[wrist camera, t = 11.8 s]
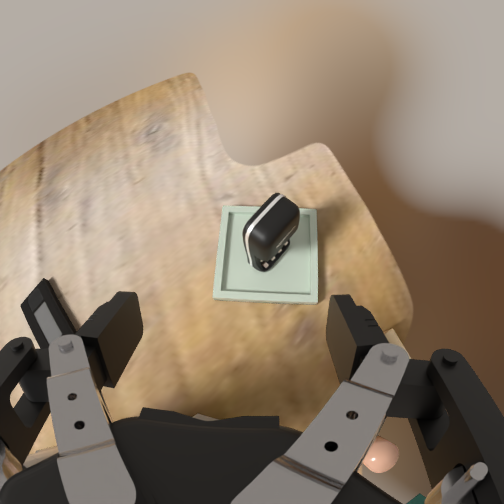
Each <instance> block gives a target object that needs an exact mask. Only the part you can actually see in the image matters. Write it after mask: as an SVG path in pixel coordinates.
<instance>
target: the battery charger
mask: <svg viewBox="0 0 504 504" xmlns="http://www.w3.org/2000/svg"><path fill="white" fill-rule="evenodd" d="M299 220H300V210H299V208H298V206H297V205H296V204H294V203H293V202H292V201H290V200H289V199H287V198H286V196H284V195H283V194H280V193H275V194H273V195H272V196H271V197H270V198H269V199H268V200H267V201H266V202H265V203H264V204H263V205H262V206H261V207H260V208H259V209H258V210H257V211H256V212H255V213H254V215H253V216H252V217H251V218H250V219H249V220H248V221H247V223H246V224H245V226H244V228H243V232H242V236H243V243H244V247H245V251H246V254H247V260H248V263H249V264H250V266H251V267H254V268H255V269H256V270H258V271H260V272H267V271H268V270H269V269H270V268H271V267H272V266H273V265H274V264H275V263H276V261H277V260H278V259H279V258H280V257H281V256H282V254H283V253H284V252H285V251H286V250H287V248H288V247H289V245H290V238H291V236H292V235H293V234H294V233H295V232H296V230H297V229H298V225H299Z"/></svg>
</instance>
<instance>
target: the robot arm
mask: <svg viewBox="0 0 504 504" xmlns="http://www.w3.org/2000/svg"><path fill="white" fill-rule="evenodd" d="M142 335H143V322H142V317H141V312H140V307H139V301H138V296H137V294H136V293H135V292H122V291H119V292H117V293H116V294H115V296H114V297H113V298H112V299H111V300H110V301H109V302H106V303H105V304H103V305H101V306H100V307H98V308H97V309H96V311H95V312H94V313H93V315H91V316H90V317H89V319H88V320H87V321H86V322H85V323H84V324H83V325H82V327H81V328H80V329H79V330H78V331H77V332H76V334H75V335H64V336H61V337H58V338H56V339H55V340H54V341H52V343H51V344H50V345H49V348H45V349H35V347H34V345H33V342H32V340H31V339H30V338H27V337H19V338H15V339H13V340H11V341H10V342H8V343H7V344H6V345H5V346H4V347H3V348H2V350H1V351H0V504H402V503H401V502H399V501H398V500H396V499H394V498H393V497H391V496H390V495H388V494H387V493H386V492H384V491H383V490H381V489H380V488H378V487H377V486H376V485H374V484H373V483H371V482H370V481H368V480H367V479H366V478H364V477H363V476H362V475H360V474H359V473H357V471H358V470H359V468H360V466H361V465H362V463H363V461H364V459H365V457H366V456H367V454H368V452H369V450H370V448H371V447H372V445H373V443H374V441H375V439H376V437H377V435H378V433H379V431H380V430H381V428H382V426H383V424H384V421H385V419H386V417H387V416H388V417H399V418H408V420H409V423H410V425H411V428H412V431H413V433H414V436H415V439H416V442H417V445H418V447H419V450H420V453H421V456H422V459H423V462H424V465H425V468H426V471H427V475H428V478H429V481H430V484H431V487H432V491H431V492H430V493H429V494H428V495H427V497H426V499H425V503H424V504H504V417H503V415H502V413H501V412H500V410H499V409H498V407H497V405H496V404H495V402H494V401H493V399H492V397H491V396H490V394H489V393H488V391H487V390H486V388H485V387H484V386H483V384H482V382H481V381H480V379H479V378H478V376H477V375H476V373H475V372H474V371H473V369H472V368H471V366H470V365H469V364H468V362H467V361H466V359H465V358H464V357H463V356H462V355H461V354H460V353H458V352H456V351H454V350H451V349H439V350H436V351H435V352H434V353H433V354H432V356H431V359H430V361H425V360H414V359H409V355H408V353H407V352H406V350H404V349H403V348H402V347H400V346H398V345H395V344H391V343H389V341H388V340H387V338H386V336H385V335H384V333H383V331H382V330H381V328H380V327H379V326H378V323H377V322H376V320H375V318H374V317H373V315H372V314H371V312H370V311H369V310H367V309H366V308H364V307H363V306H356V304H355V303H354V301H353V299H352V298H351V296H350V295H349V294H347V295H331V297H330V302H329V310H328V318H327V325H326V340H327V344H328V347H329V351H330V354H331V357H332V360H333V363H334V366H335V369H336V373H337V376H338V379H339V382H340V386H339V387H338V389H337V390H336V392H335V393H334V394H333V396H332V397H331V398H330V400H329V401H328V402H327V404H326V405H325V406H324V407H323V409H322V410H321V411H320V413H319V414H318V415H317V416H316V418H315V419H314V420H313V421H312V423H311V424H310V425H309V426H308V427H307V429H306V430H305V431H304V432H300V431H298V430H295V429H292V428H288V427H284V426H279V416H241V417H235V418H229V419H222V420H214V421H204V420H200V419H197V418H193V417H190V416H187V415H183V414H180V413H177V412H174V411H166V410H158V409H151V408H144V407H143V408H142V410H141V413H140V416H139V417H130V418H125V419H121V420H118V421H115V422H113V420H112V417H111V415H110V412H109V410H108V407H107V405H106V402H105V399H104V397H103V394H102V392H101V389H102V387H103V386H105V387H111V388H115V386H116V384H117V382H118V380H119V378H120V377H121V375H122V373H123V371H124V369H125V367H126V365H127V364H128V362H129V360H130V358H131V356H132V354H133V353H134V351H135V349H136V347H137V345H138V343H139V342H140V340H141V338H142ZM18 382H19V384H20V386H21V388H22V390H23V392H24V393H23V395H22V396H21V398H20V399H19V401H18V402H17V404H16V405H15V407H14V408H13V407H12V406H11V403H10V394H11V392H12V391H13V389H14V388H15V387H16V385H17V384H18ZM446 410H447V411H446ZM50 412H51V416H52V422H53V428H54V433H55V438H56V442H57V446H54V447H50V448H46V449H41V450H37V451H36V452H35V453H34V454H30V455H28V454H29V452H30V450H31V448H32V446H33V444H34V442H35V440H36V438H37V436H38V434H39V433H40V431H41V429H42V427H43V425H44V423H45V421H46V420H47V418H48V416H49V414H50ZM447 412H448V413H447ZM448 415H449V416H448Z"/></svg>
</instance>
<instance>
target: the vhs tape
mask: <svg viewBox="0 0 504 504" xmlns="http://www.w3.org/2000/svg"><path fill="white" fill-rule="evenodd" d="M42 280H43V281H41V282H40V283H39V284H38V285H37V286H36V287H35V288H34V290H33V291H32V292H31V293H30V294H29V296H28V297H27V298H26V299H25V300H24V302H23V303H22V304H21V309H22V311H23V313H24V315H25V318H26V320H27V322H28V324H29V326H30V328H31V330H32V332H33V335H34V337H35V339H36V341H37V343H38V344H39V346H40V348H41V349H45V348H49V345H50V344H51V343H52V341H54V340H55V339H56V338H58V337H61V336H64V335H75V334H76V332H77V331H76V330H75V328H74V326H73V325H72V323H71V321H70V320H69V318H68V316H67V314H66V313H65V311H64V309H63V307H62V305H61V304H60V302H59V300H58V298H57V296H56V294H55V293H54V291H53V289H52V287H51V285H50V283H49V281H48V280H46V279H44V278H43V279H42Z"/></svg>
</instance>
